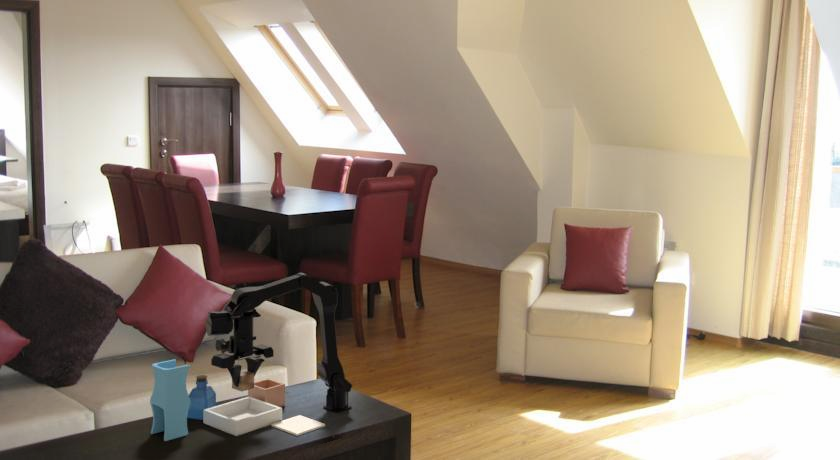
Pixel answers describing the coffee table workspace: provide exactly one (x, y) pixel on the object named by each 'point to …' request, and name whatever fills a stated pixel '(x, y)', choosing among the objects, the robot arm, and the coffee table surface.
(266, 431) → the coffee table surface
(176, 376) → the vase
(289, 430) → the cream coaster
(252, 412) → the white bin
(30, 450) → the coffee table surface
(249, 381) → the walnut block
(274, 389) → the terracotta pot
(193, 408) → the perfume bottle
